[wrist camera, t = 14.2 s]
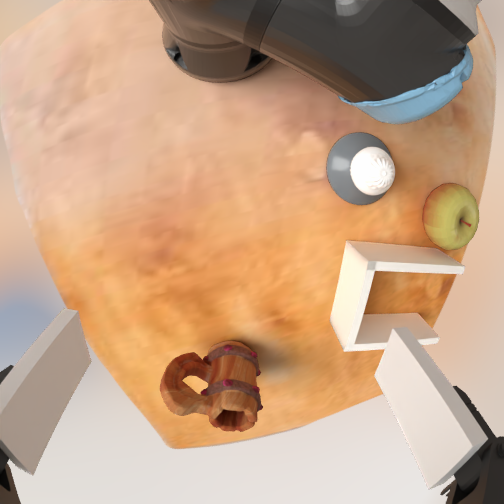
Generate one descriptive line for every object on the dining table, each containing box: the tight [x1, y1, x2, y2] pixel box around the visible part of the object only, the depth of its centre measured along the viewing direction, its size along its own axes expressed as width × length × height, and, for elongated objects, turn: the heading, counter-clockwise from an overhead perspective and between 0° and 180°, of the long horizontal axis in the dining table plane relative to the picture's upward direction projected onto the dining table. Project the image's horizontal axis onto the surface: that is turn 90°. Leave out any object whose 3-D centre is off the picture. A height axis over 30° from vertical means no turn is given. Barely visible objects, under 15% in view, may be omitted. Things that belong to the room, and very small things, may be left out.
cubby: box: [330, 240, 465, 352], centre depth 39 cm, size 13×17×8 cm
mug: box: [160, 341, 263, 432], centre depth 38 cm, size 15×8×15 cm, turn 66°
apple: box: [423, 183, 479, 250], centre depth 35 cm, size 10×10×8 cm
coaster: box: [326, 133, 392, 205], centre depth 36 cm, size 10×10×1 cm
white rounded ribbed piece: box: [350, 147, 395, 195], centre depth 33 cm, size 6×6×7 cm
